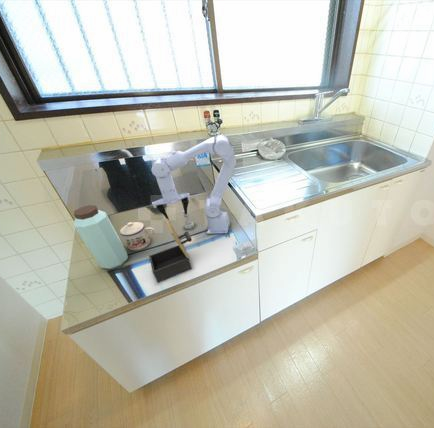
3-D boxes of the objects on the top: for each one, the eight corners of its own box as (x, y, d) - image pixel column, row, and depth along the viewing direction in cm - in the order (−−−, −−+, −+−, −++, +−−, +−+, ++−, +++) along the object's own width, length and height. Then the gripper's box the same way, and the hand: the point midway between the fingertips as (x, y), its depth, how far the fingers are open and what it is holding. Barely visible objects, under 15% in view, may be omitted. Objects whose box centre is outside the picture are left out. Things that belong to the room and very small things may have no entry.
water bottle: (108, 274, 88) (74, 221, 75) (96, 264, 93) (61, 212, 79) (134, 258, 96) (107, 207, 82) (121, 250, 100) (94, 200, 86)
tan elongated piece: (170, 233, 79) (184, 226, 81) (165, 219, 86) (177, 213, 88) (187, 258, 87) (198, 251, 89) (180, 243, 94) (191, 237, 96)
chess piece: (192, 222, 116) (186, 205, 111) (196, 226, 114) (191, 209, 108) (183, 226, 114) (177, 209, 108) (187, 230, 111) (182, 213, 106)
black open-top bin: (157, 283, 85) (152, 272, 82) (153, 266, 92) (148, 255, 89) (191, 268, 91) (188, 258, 87) (185, 253, 98) (181, 243, 95)
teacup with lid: (127, 253, 98) (115, 232, 92) (128, 241, 105) (118, 220, 98) (158, 245, 102) (149, 224, 96) (158, 233, 109) (149, 213, 103)
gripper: (149, 197, 89) (160, 226, 97) (188, 187, 96) (196, 215, 103) (147, 190, 94) (158, 218, 102) (184, 181, 101) (192, 208, 108)
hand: (177, 216), depth 103 cm, fingers open, 7 cm apart
